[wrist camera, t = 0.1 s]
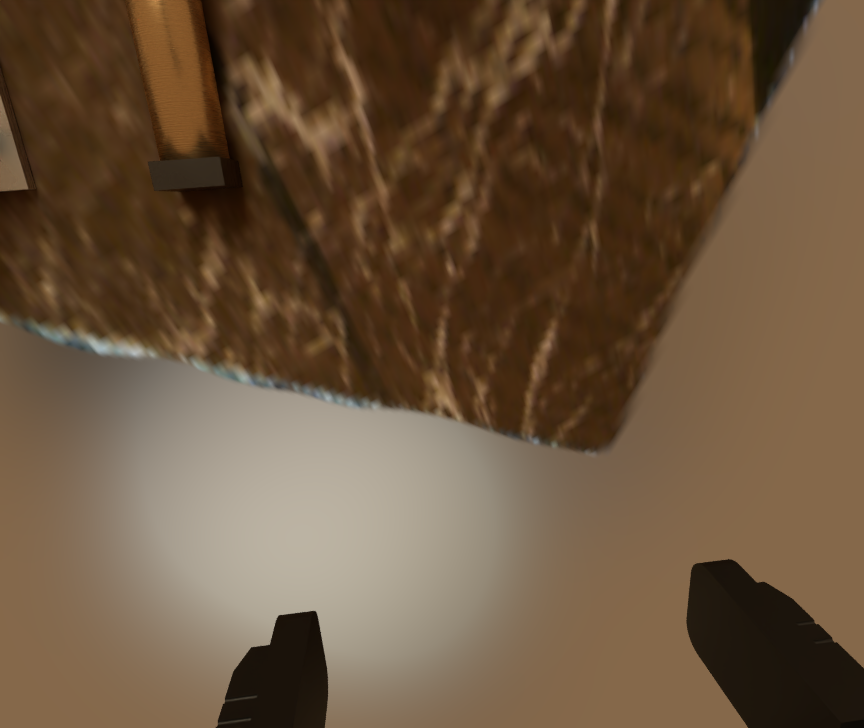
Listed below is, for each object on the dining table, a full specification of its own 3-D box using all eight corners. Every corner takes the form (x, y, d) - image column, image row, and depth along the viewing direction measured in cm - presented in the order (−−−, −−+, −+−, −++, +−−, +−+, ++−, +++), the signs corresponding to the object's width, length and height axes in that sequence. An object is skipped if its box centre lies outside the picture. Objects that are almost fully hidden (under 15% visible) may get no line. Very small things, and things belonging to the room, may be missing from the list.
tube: (104, -165, 29) (60, -221, 25) (179, -167, 29) (148, -224, 25) (180, 191, 35) (154, 190, 31) (242, 186, 35) (224, 185, 31)
